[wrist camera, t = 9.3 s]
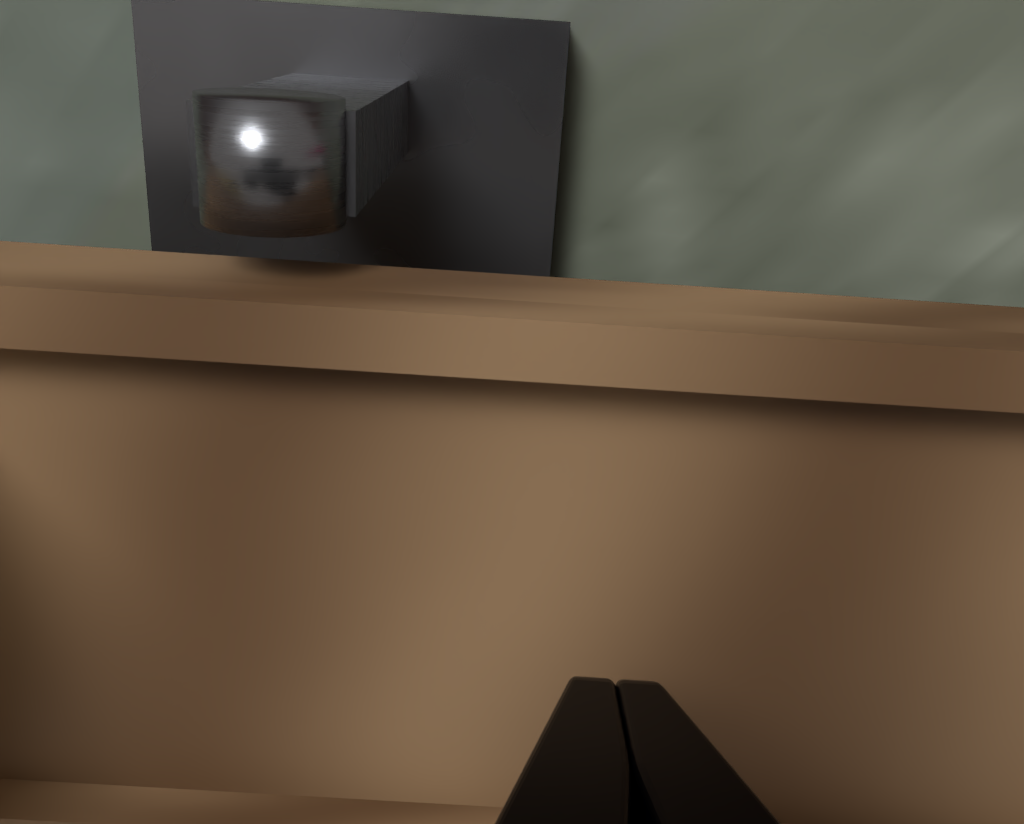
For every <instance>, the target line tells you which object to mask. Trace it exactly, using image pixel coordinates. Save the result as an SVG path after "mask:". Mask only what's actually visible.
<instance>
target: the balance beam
mask: <svg viewBox="0 0 1024 824" xmlns="http://www.w3.org/2000/svg"><path fill="white" fill-rule="evenodd" d="M574 676H583V677H598V678H608V679H610V680H612V681H613V682H614V684H616V683H617V681H619V680H621V679H628V680H644V681H655V682H658V683H659V684H661V685H662V686H663V687H664V688H665V689H666V690H667V691H668V693H669V694H670V695H671V696H672V697H673V698H674V700H675V701H676V702H677V703H678V704H679V705H680V707H681V708H682V709H683V710H684V711H685V712H686V714H687V715H688V716H689V717H690V718H691V719H692V721H693V722H694V723H695V724H696V725H697V726H698V728H699V729H700V730H701V731H702V732H703V733H704V735H705V736H706V737H707V738H708V739H709V740H710V742H711V743H712V744H713V745H714V746H715V747H716V749H717V750H718V751H719V752H720V753H721V754H722V756H723V757H724V758H725V759H726V760H727V761H728V763H729V764H730V765H731V766H732V767H733V768H734V770H735V771H736V772H737V773H738V774H739V775H740V777H741V778H742V779H743V780H744V781H745V782H746V784H747V785H748V786H749V787H750V788H751V790H752V791H753V792H754V793H755V794H756V795H757V797H758V798H759V799H760V800H761V801H762V802H763V804H764V805H765V806H766V807H767V808H768V809H769V811H770V812H771V813H772V814H773V815H774V816H775V818H776V819H777V820H778V821H779V822H780V823H781V824H1024V308H1021V307H1006V306H990V305H975V304H960V303H944V302H929V301H913V300H898V299H883V298H867V297H852V296H837V295H821V294H806V293H791V292H775V291H760V290H745V289H729V288H714V287H699V286H683V285H668V284H653V283H637V282H622V281H606V280H591V279H576V278H560V277H545V276H530V275H514V274H499V273H484V272H468V271H453V270H438V269H422V268H407V267H392V266H376V265H361V264H346V263H330V262H315V261H300V260H284V259H269V258H253V257H238V256H223V255H207V254H192V253H177V252H161V251H146V250H131V249H115V248H100V247H85V246H69V245H54V244H39V243H23V242H8V241H0V824H495V822H496V820H497V818H498V816H499V814H500V812H501V810H502V809H503V807H504V805H505V803H506V801H507V799H508V797H509V795H510V793H511V791H512V789H513V787H514V785H515V783H516V781H517V780H518V778H519V776H520V774H521V772H522V770H523V768H524V766H525V764H526V762H527V760H528V758H529V756H530V754H531V752H532V751H533V749H534V747H535V745H536V743H537V741H538V739H539V737H540V735H541V733H542V731H543V729H544V727H545V725H546V723H547V722H548V720H549V718H550V716H551V714H552V712H553V710H554V708H555V706H556V704H557V702H558V700H559V698H560V696H561V694H562V693H563V691H564V689H565V687H566V685H567V683H568V681H569V680H570V679H571V678H572V677H574Z"/></svg>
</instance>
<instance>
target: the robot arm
mask: <svg viewBox="0 0 1024 824" xmlns="http://www.w3.org/2000/svg"><path fill="white" fill-rule="evenodd" d="M495 824H781V823H780V822H779V821H778V820H777V819H776V818H775V816H774V815H773V814H772V813H771V812H770V811H769V809H768V808H767V807H766V806H765V805H764V804H763V802H762V801H761V800H760V799H759V798H758V797H757V795H756V794H755V793H754V792H753V791H752V790H751V788H750V787H749V786H748V785H747V784H746V782H745V781H744V780H743V779H742V778H741V777H740V775H739V774H738V773H737V772H736V771H735V770H734V768H733V767H732V766H731V765H730V764H729V763H728V761H727V760H726V759H725V758H724V757H723V756H722V754H721V753H720V752H719V751H718V750H717V749H716V747H715V746H714V745H713V744H712V743H711V742H710V740H709V739H708V738H707V737H706V736H705V735H704V733H703V732H702V731H701V730H700V729H699V728H698V726H697V725H696V724H695V723H694V722H693V721H692V719H691V718H690V717H689V716H688V715H687V714H686V712H685V711H684V710H683V709H682V708H681V707H680V705H679V704H678V703H677V702H676V701H675V700H674V698H673V697H672V696H671V695H670V694H669V693H668V691H667V690H666V689H665V688H664V687H663V686H662V685H661V684H659V683H658V682H655V681H644V680H628V679H621V680H619V681H617V683H616V684H614V682H613V681H612V680H610V679H608V678H598V677H583V676H574V677H572V678H571V679H570V680H569V681H568V683H567V685H566V687H565V689H564V691H563V693H562V694H561V696H560V698H559V700H558V702H557V704H556V706H555V708H554V710H553V712H552V714H551V716H550V718H549V720H548V722H547V723H546V725H545V727H544V729H543V731H542V733H541V735H540V737H539V739H538V741H537V743H536V745H535V747H534V749H533V751H532V752H531V754H530V756H529V758H528V760H527V762H526V764H525V766H524V768H523V770H522V772H521V774H520V776H519V778H518V780H517V781H516V783H515V785H514V787H513V789H512V791H511V793H510V795H509V797H508V799H507V801H506V803H505V805H504V807H503V809H502V810H501V812H500V814H499V816H498V818H497V820H496V822H495Z"/></svg>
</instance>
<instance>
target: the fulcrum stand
mask: <svg viewBox="0 0 1024 824" xmlns="http://www.w3.org/2000/svg"><path fill="white" fill-rule="evenodd" d="M131 4H132V16H133V28H134V40H135V52H136V64H137V76H138V88H139V100H140V112H141V124H142V136H143V148H144V160H145V172H146V184H147V196H148V208H149V220H150V233H151V245H152V251H161V252H177V253H192V254H207V255H223V256H238V257H253V258H269V259H284V260H300V261H315V262H330V263H346V264H361V265H376V266H392V267H407V268H422V269H438V270H453V271H468V272H484V273H499V274H514V275H530V276H545V277H550V269H551V257H552V245H553V232H554V220H555V208H556V195H557V183H558V170H559V158H560V146H561V133H562V121H563V109H564V96H565V84H566V71H567V59H568V47H569V34H570V22H562V21H548V20H533V19H519V18H504V17H490V16H475V15H461V14H446V13H432V12H417V11H403V10H388V9H374V8H359V7H345V6H330V5H316V4H301V3H287V2H272V1H258V0H131Z"/></svg>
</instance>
